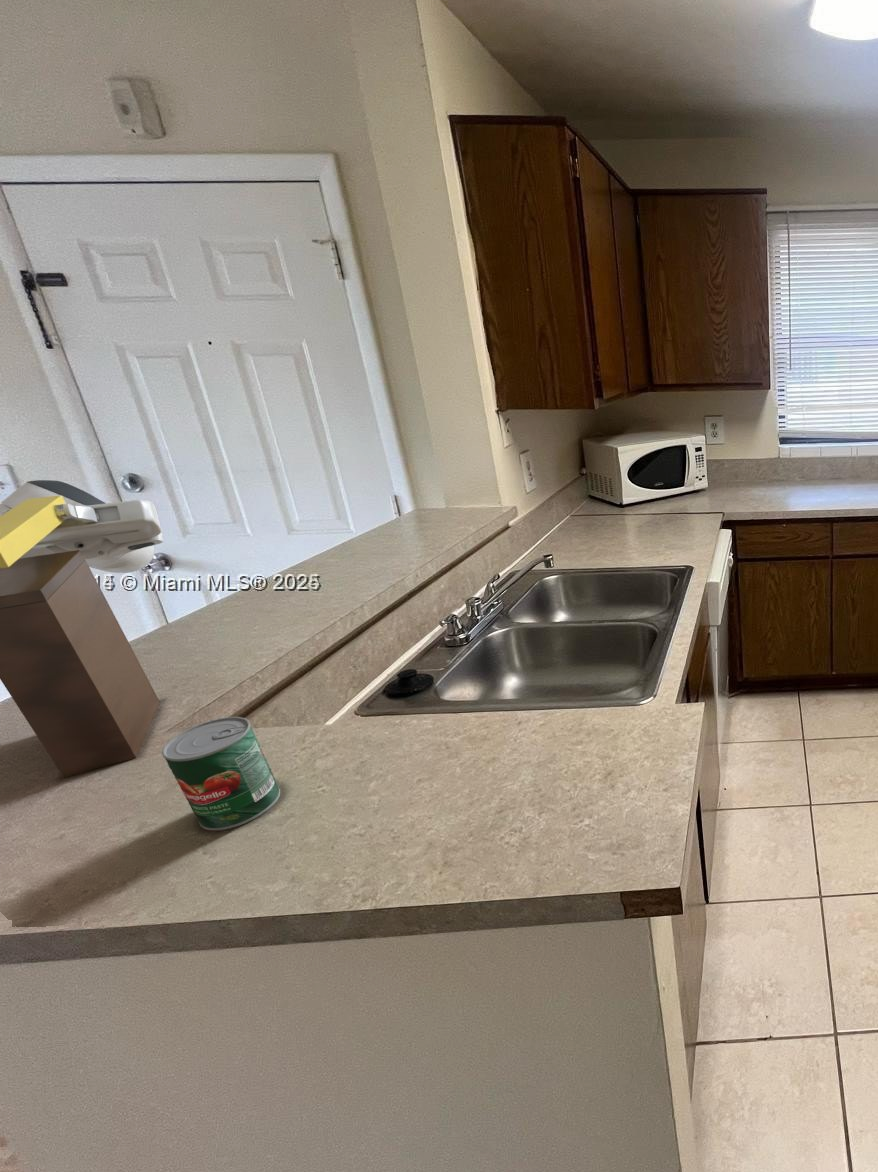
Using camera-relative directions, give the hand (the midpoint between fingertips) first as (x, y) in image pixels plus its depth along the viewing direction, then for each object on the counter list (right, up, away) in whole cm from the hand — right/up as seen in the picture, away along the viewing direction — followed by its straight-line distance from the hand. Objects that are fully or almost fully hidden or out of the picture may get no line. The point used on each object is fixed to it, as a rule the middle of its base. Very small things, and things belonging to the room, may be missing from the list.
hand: (36, 512), depth 85 cm
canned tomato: (+36, -38, -8) cm, 54 cm away
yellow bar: (+4, -4, -5) cm, 7 cm away
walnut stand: (+7, -32, +4) cm, 33 cm away
